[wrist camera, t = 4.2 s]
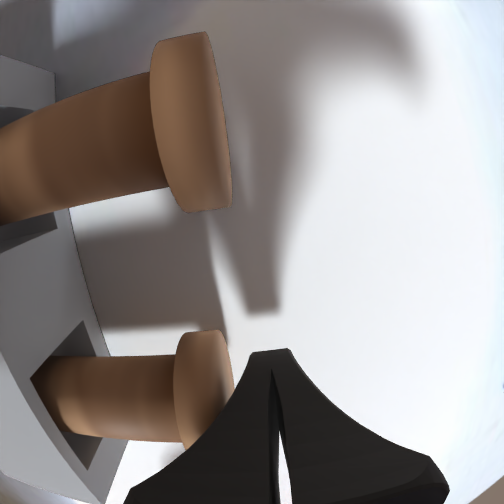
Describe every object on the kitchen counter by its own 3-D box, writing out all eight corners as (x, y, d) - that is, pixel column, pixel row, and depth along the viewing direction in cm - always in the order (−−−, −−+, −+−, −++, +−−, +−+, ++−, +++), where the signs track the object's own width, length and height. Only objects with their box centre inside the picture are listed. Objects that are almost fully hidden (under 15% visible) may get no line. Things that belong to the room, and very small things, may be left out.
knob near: (217, 62, 9) (194, -1, 4) (235, 196, 10) (222, 222, 6) (17, 124, 9) (-65, 121, 5) (32, 233, 10) (-46, 269, 6)
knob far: (219, 306, 11) (202, 388, 7) (238, 400, 12) (234, 487, 8) (39, 319, 11) (-21, 374, 7) (75, 399, 12) (36, 462, 8)
